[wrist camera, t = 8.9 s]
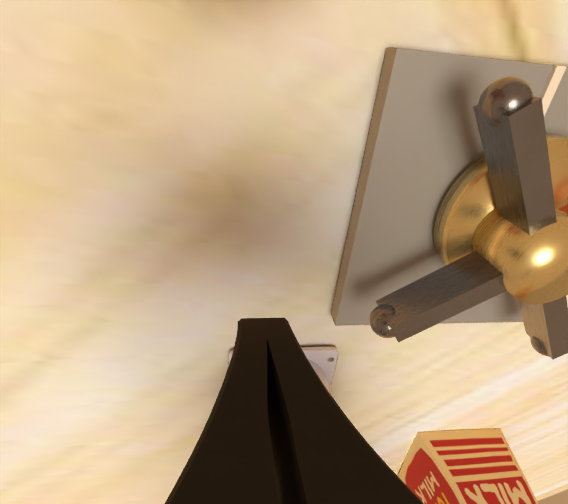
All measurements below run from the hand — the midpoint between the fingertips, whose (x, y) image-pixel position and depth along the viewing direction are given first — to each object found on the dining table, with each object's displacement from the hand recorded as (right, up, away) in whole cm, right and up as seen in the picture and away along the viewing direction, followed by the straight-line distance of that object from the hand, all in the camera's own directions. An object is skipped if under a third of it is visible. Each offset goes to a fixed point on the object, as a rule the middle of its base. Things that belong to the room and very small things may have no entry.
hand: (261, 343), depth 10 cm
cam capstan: (+13, +4, +10) cm, 17 cm away
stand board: (+13, +5, +11) cm, 17 cm away
